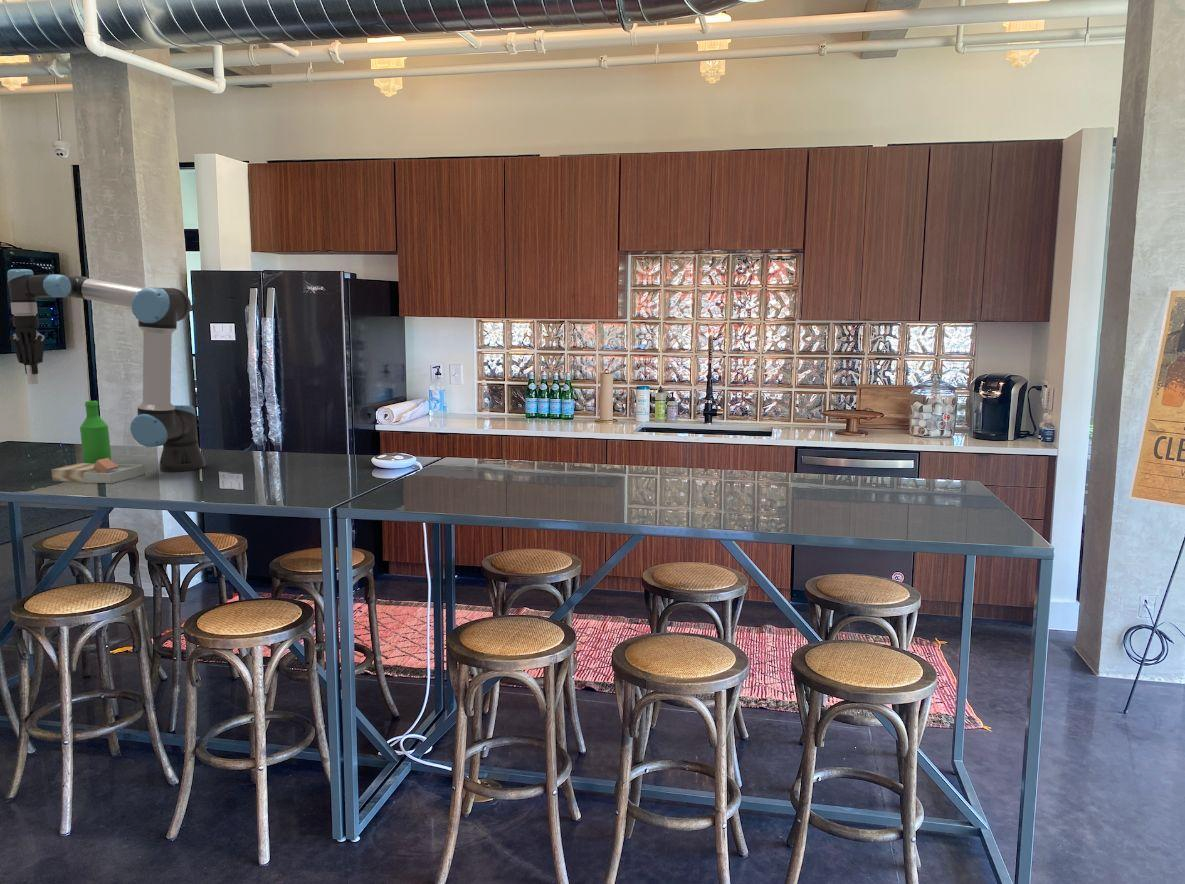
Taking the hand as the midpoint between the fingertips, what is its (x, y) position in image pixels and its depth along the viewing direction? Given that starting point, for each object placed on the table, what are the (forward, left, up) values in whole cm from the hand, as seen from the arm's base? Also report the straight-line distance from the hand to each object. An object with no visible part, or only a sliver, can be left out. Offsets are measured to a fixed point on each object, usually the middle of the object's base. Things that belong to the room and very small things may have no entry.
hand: (33, 383), depth 299 cm
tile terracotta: (-28, +3, -30) cm, 40 cm away
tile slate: (-34, +3, -29) cm, 44 cm away
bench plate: (-19, +3, -32) cm, 38 cm away
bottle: (-11, -13, -33) cm, 37 cm away
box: (-31, +3, -32) cm, 45 cm away
